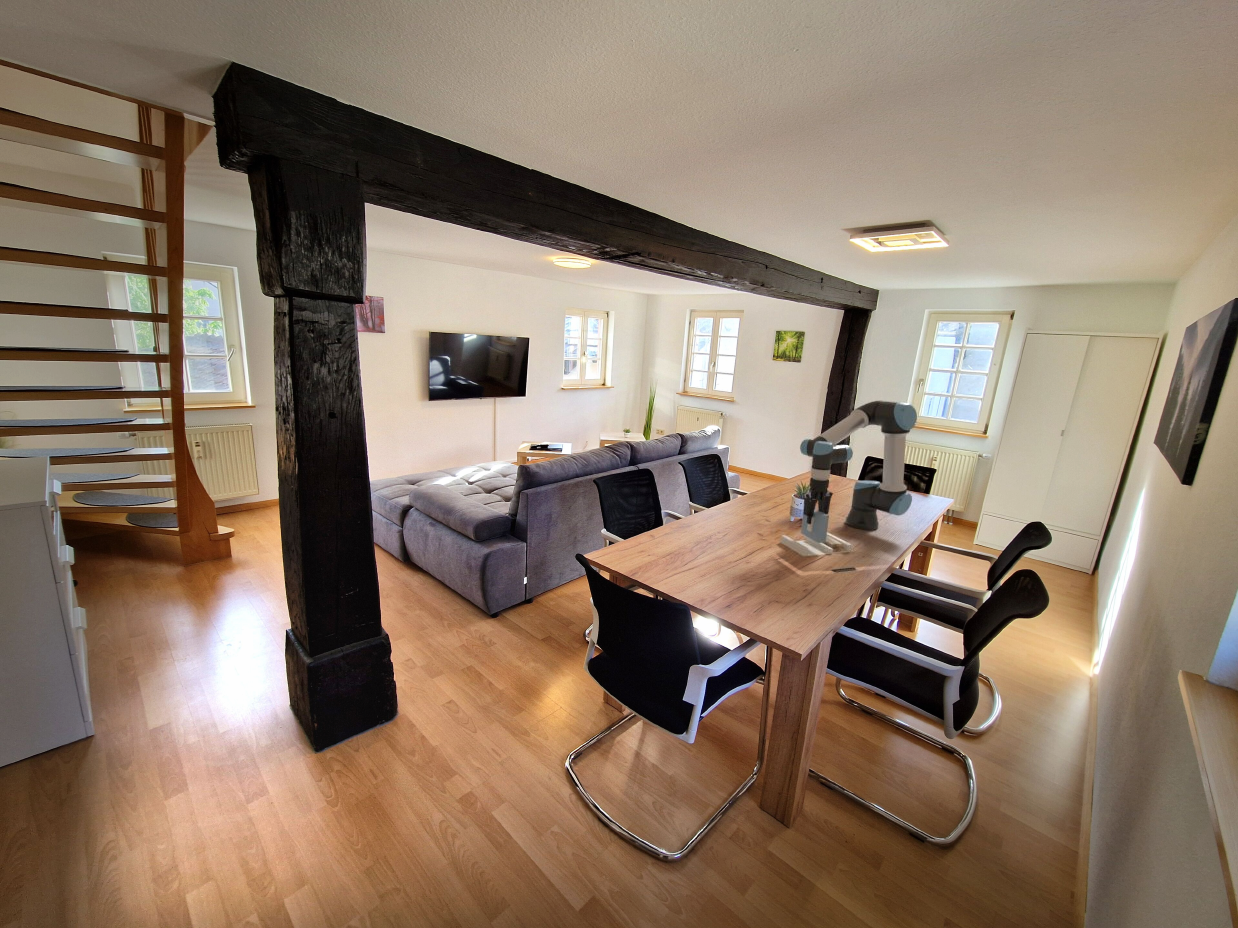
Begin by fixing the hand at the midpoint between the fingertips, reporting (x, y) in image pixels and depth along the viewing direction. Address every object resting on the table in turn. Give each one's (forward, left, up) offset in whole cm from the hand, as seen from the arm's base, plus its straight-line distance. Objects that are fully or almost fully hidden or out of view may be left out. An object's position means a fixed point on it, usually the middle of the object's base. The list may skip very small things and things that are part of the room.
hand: (813, 530), depth 212 cm
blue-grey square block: (0, 0, -3) cm, 3 cm away
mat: (+1, +16, -9) cm, 18 cm away
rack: (-2, 0, -9) cm, 9 cm away
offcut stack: (-8, 0, -8) cm, 11 cm away
